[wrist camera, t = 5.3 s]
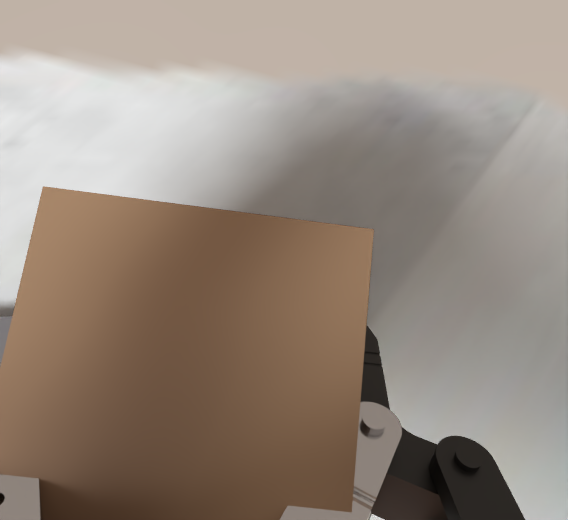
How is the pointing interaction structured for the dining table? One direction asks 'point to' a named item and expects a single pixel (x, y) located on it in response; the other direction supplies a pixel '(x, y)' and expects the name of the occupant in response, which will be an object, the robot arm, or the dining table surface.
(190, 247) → the brown wooden block
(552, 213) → the dining table surface
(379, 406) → the robot arm
